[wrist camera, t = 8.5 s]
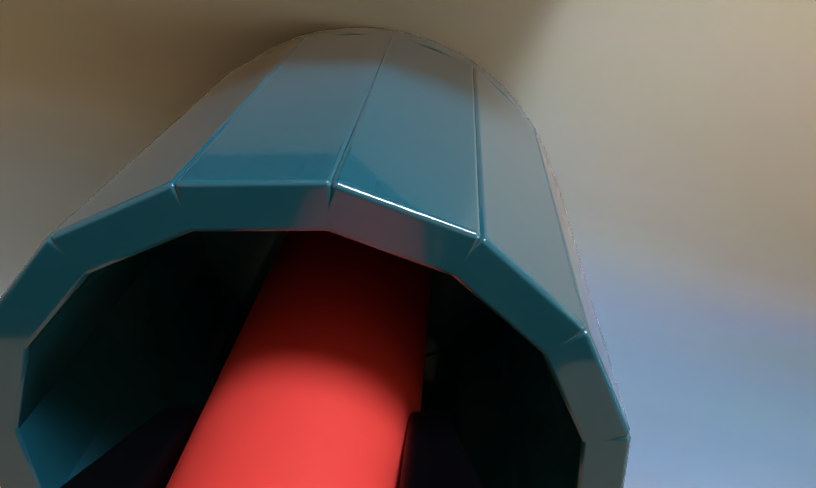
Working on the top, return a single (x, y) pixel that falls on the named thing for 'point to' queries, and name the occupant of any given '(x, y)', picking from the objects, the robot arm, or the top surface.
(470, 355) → the tumbler
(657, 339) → the top surface
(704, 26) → the top surface
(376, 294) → the red cylinder rod
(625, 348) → the top surface
